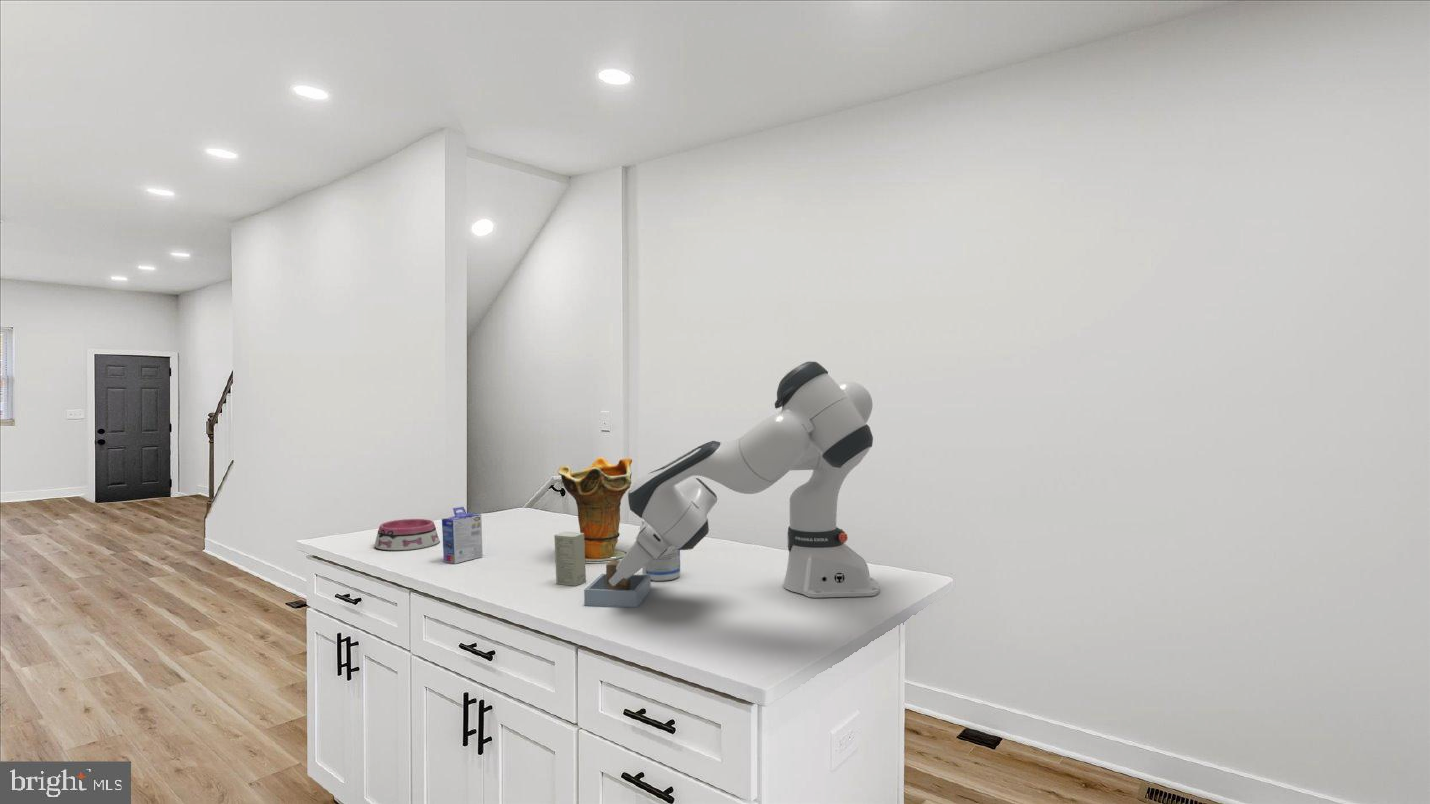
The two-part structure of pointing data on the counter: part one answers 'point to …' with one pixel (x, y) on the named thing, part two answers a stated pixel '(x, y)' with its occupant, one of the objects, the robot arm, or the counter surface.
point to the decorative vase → (599, 505)
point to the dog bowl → (406, 535)
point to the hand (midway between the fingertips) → (617, 577)
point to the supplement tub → (663, 566)
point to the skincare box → (570, 558)
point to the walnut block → (610, 571)
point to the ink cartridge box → (462, 537)
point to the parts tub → (617, 592)
